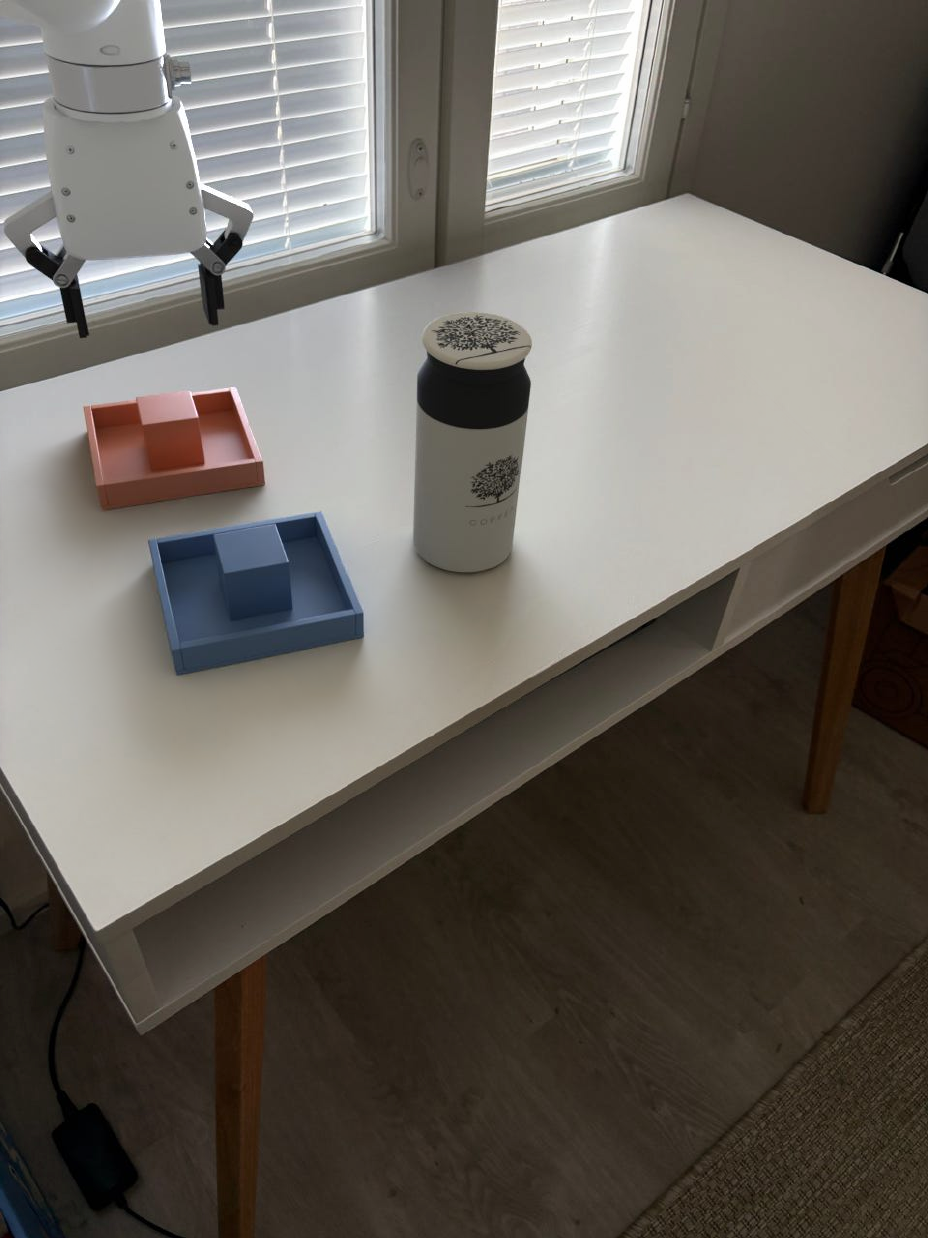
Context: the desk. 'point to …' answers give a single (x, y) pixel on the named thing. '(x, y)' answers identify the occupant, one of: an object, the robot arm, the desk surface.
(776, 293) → the desk surface
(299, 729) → the desk surface
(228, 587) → the blue block
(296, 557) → the blue tray
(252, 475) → the terracotta tray
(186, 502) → the desk surface
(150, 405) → the terracotta block
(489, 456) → the travel mug
